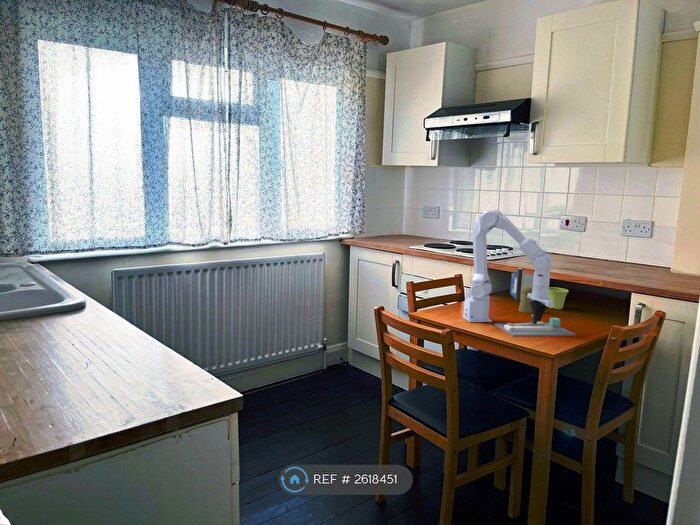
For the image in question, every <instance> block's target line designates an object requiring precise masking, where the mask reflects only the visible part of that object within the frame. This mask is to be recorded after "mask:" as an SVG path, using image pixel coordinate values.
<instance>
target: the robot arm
mask: <svg viewBox="0 0 700 525" xmlns="http://www.w3.org/2000/svg"><path fill="white" fill-rule="evenodd" d="M494 228H495V229H500V230H504V231H505V232H506V233H507V234H508V235H509V236H510V237H511V238H512V239H514V240H515V242H517V243H518V244H519V250H520V251H521V252H522V253H523V254H524V255H525V256H526V257H527V258H528V259H529V260H530V261H531V262H532V265H534V267H535V272H534V279H533V289H532V293H528V296H527V298H529V299H533V300H534V301H532V302H530V305H531V307H532V310H533V312H532V314H534V320H535V321H537V322H542V318H543V315H544V314H545V311H546V309H547V308H549V307H552V303H553V302H552V301H551V300H550V297H548V291H549V287H550V279H551V266H552V264H553V257H552V256H551V254H550V253H546V250H545V249H542V247H540V246H539V244H537V242H538V241H537V240H535V239H532V238H527V237H525V235H524V234H523V233H522V232H521V231H520V230H519V228H517V227H516V225H515V224H514V223H513V222H512V221H511V220H510V219H509V218H508V216H506V215H505V214H503V213H502V211H500V210H498V209H495V210H486V211H484V212H483V213H481V214H480V215H479V216H478V220H477V221H476V223H475V225H474V227H473V229H472V247H473V270H474V271H473V277H472V280H471V286H470V289H469V292H470V295H471V297H466V298H465V299H464V302H463V312H462V318H463V319H465V320H466V321H468V322H469V323H486V322H487V323H491V322H493V320H491V319H490V318H489V312H490V311H489V310H490V302H491V301H490V300H491V297H490V294H491V292H492V290H493V286H492V285H493V284H492V283H491V281H490V276H489V274H488V253H487V252H488V250H487V248H488V245H487V244H488V243H487V235H488V233H489V232H491V231H492V230H493V229H494Z"/></svg>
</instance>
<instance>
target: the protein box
mask: <svg viewBox="0 0 700 525" xmlns="http://www.w3.org/2000/svg"><path fill="white" fill-rule="evenodd" d="M523 273H525V272H524V269H522V268H518V270H517V273H514V272H513V273H512V272H511V278H510V290H509V293H510V295H511V296H512V297H513V298H514V300H516V301H521V297H522V292H521V289H522V287H524V286H529V287H532V288H533V279H534V275H529V274H523ZM533 301H534V300H533V299H532V302H533Z"/></svg>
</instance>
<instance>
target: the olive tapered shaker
mask: <svg viewBox="0 0 700 525" xmlns="http://www.w3.org/2000/svg"><path fill="white" fill-rule="evenodd" d="M532 289H533V288H532V287H529V286H524V287H522V289H521V292H522V297H521V300H519V301H520V302H519V307H518V312H521V313H526V314H531V313H532V314H533V310H532V307H531V305H530V302H533V301H532V299H529V298H527V296H528V293H532Z"/></svg>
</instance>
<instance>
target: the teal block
mask: <svg viewBox="0 0 700 525" xmlns="http://www.w3.org/2000/svg"><path fill="white" fill-rule="evenodd" d="M548 323H549V325H550V326H552V327H561V318H558V317H550V318H549V322H548Z"/></svg>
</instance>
